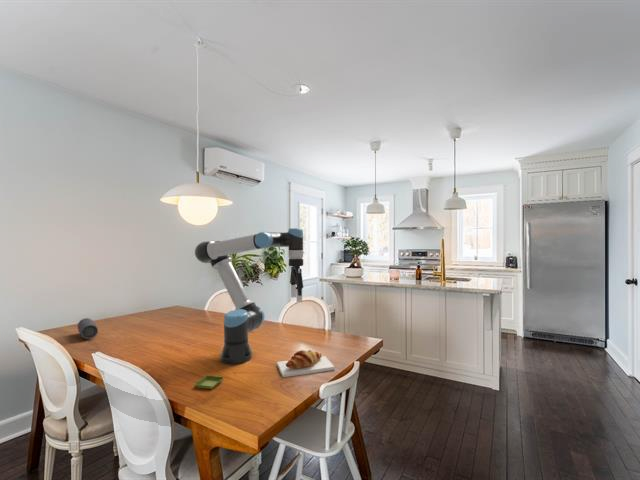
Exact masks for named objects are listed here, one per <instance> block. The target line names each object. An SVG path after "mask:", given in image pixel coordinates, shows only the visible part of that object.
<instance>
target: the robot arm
mask: <svg viewBox="0 0 640 480" xmlns="http://www.w3.org/2000/svg"><path fill="white" fill-rule="evenodd" d="M281 247H282V248H288V266H289V267H290V279H289V283H290V298H296V303H303V289H304V283H303V281H304V280H303V276H302V273H303V272H302V268H300V267H303V266H304V259H303V258H304V254H305V251H304V232H303V229H302V228H301V227H300V228H297V227H295V228H288V230H287V232H274V231H273V232H271V231H259V232H258V233H255V234H250V235H249V234H248V235H245V236H239V237H236V238H230V239H225V240H216V241H213V240H212V241H202V242H200V243H198V245H197V246H196V247H195V249H194V255H195V258H196V259H197V260H198V261H199V262H201V263H204V264H210V265H211V267H212V269H214V270H216V271H217V273H218V275H219V277H220V279H221V281H222V283H223V285H224V287H225V290H226V291H227V293H228V295H229V298H231V301H232V303H233V306H234V307H235V309H234V310H230V311H228V312H226V313H225V314H224V317H223V334H224V335H223V336H224V337H223V343H224V344H223V347H222V350H221V353H220V361H221V362H222V363H223V364H227V365H238V364H243V363H247V362H249V361H250V360H251V359H252V358H253V353H252V349H251V347H250V343H249V333H250V332H252V331H255V330H257V329H259V328H260V327H261V326H262V325H263V323H264V321H265V313H264V310H263V308H261V307H260V306H257V305H256V302H255V301H253V300H251V299H250V298H249V295H248V293H247V291H246V289H245V287H244V286H243V283H242V281H241V279H240V277H239V276H238V273H237V271H236V269H235V267H234V266H233V264H232V261H233V257H232V255H236V254H240V253H245V252H251V251H255V250H262V249H266V248H281Z"/></svg>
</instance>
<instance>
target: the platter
mask: <svg viewBox="0 0 640 480" xmlns="http://www.w3.org/2000/svg"><path fill="white" fill-rule="evenodd" d="M288 361H289V360H284V361H281V360H280V361H277V362H276V366H277V368H278V370H279V373H280V375H281V377H282V378H286V377H287V378H288V377H293V376H294V377H295V376H301V375H310V374H316V373H323V372H330V371H335V369H336V367H335V366H334V364H333V363H332V362H331V361H330V360H329V359H328V357H327V356H326V355H322V357H321V358H320V359H319V360H318V361H317V362H315V363H314V364H313V365H311V366H308V367H305V368H299V369H294V368H288V367H286V363H287V362H288Z"/></svg>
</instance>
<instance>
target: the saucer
mask: <svg viewBox="0 0 640 480" xmlns="http://www.w3.org/2000/svg"><path fill="white" fill-rule="evenodd" d="M224 378H225V377H224V376H218V375H207V374H206V375H204V376H203V377H202V378H200V379H199V380H197V381H195V382H194V384H193V385H194V386H195V387H196V388H199V389H207V390H213V389H214V388H216V387H217V386H218V385H219V384H220V383H222V381H223V380H224Z"/></svg>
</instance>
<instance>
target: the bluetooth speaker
mask: <svg viewBox="0 0 640 480" xmlns="http://www.w3.org/2000/svg"><path fill="white" fill-rule="evenodd" d="M77 329H78V330H77V331H78V333H79V335H80V336H81V337H82V338H84V339H85V340H86V339H87V340H88V339H93V338H95V337H96V336H97V335H98V331H99V328H98V325H97V324H96V322H95V321H94V320H93V319H91V318H88V317H87V318H82V319H80V321H79V322H78V323H77Z"/></svg>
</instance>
